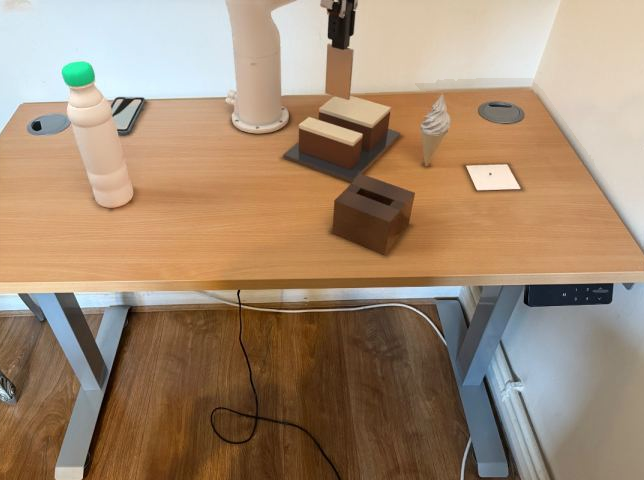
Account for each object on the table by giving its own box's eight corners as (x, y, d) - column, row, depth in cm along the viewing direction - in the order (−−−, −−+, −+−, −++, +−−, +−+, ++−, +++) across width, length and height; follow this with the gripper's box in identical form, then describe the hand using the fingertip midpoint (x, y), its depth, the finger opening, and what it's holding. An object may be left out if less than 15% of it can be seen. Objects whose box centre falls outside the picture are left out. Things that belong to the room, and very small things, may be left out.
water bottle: (101, 214, 97) (57, 80, 78) (91, 193, 101) (48, 62, 83) (139, 202, 99) (104, 69, 81) (128, 182, 103) (92, 52, 85)
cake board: (283, 158, 107) (283, 154, 107) (334, 116, 118) (334, 112, 118) (353, 183, 101) (353, 179, 100) (400, 136, 112) (400, 132, 111)
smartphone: (95, 131, 115) (115, 96, 125) (96, 135, 116) (116, 100, 126) (128, 132, 115) (146, 97, 125) (129, 136, 115) (147, 101, 125)
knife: (322, 95, 99) (326, 2, 87) (328, 90, 100) (332, -2, 88) (346, 102, 97) (353, 7, 85) (351, 97, 98) (359, 3, 86)
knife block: (331, 233, 91) (334, 200, 86) (357, 206, 96) (361, 173, 91) (384, 255, 87) (390, 222, 82) (408, 225, 92) (415, 192, 87)
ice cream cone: (439, 174, 102) (457, 100, 91) (412, 171, 103) (427, 98, 92) (439, 159, 105) (456, 86, 95) (413, 157, 106) (427, 85, 95)
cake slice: (298, 151, 107) (298, 124, 103) (308, 143, 109) (308, 116, 105) (350, 170, 102) (353, 142, 98) (359, 161, 104) (362, 133, 100)
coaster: (520, 188, 98) (522, 185, 97) (477, 190, 98) (478, 186, 98) (507, 164, 103) (508, 160, 103) (465, 165, 104) (466, 162, 103)
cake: (317, 134, 111) (318, 108, 107) (337, 118, 116) (339, 92, 111) (369, 151, 106) (372, 124, 102) (387, 134, 111) (391, 107, 106)
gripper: (353, -107, 83) (344, 17, 96) (297, -85, 74) (296, 49, 88) (397, -102, 80) (382, 26, 93) (344, -78, 71) (335, 59, 85)
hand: (340, 36), depth 90 cm, fingers closed on knife, 2 cm apart
